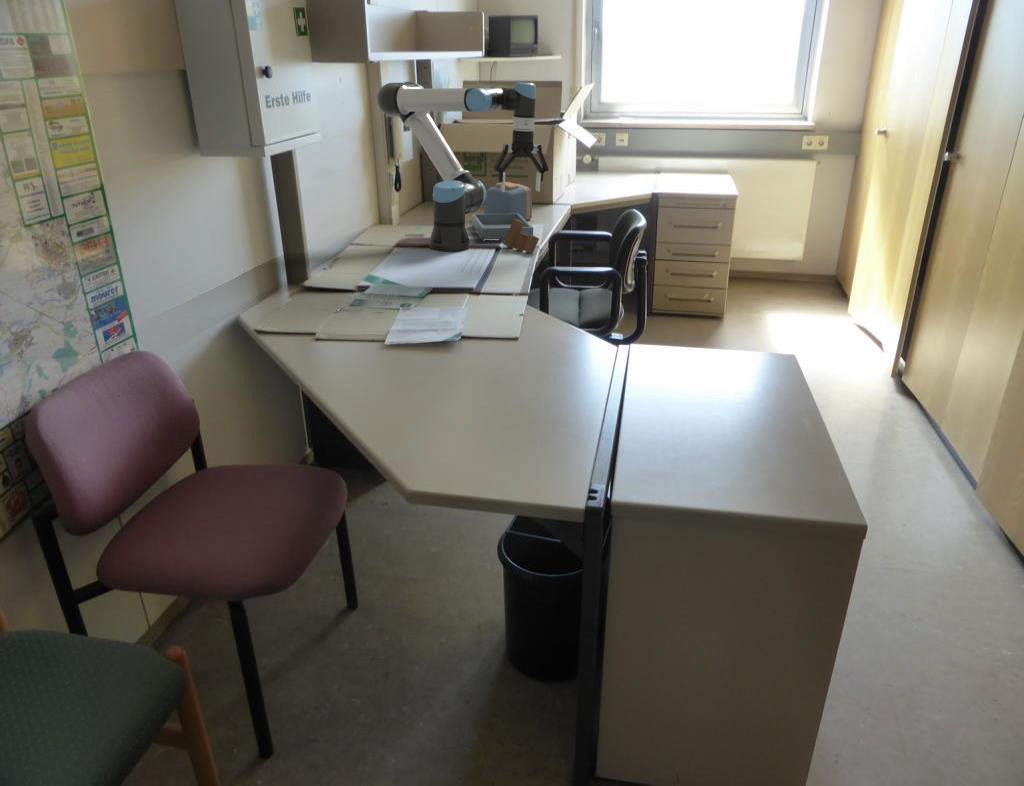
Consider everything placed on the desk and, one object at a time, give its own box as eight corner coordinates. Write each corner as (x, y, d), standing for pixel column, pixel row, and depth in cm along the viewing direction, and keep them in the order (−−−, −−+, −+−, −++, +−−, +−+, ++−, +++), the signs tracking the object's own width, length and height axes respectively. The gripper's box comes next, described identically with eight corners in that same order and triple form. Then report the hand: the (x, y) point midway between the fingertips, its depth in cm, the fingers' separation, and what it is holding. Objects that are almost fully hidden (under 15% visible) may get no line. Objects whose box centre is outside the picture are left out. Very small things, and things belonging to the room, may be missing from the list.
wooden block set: (534, 259, 270) (546, 233, 267) (515, 252, 265) (527, 226, 262) (514, 246, 284) (524, 222, 282) (495, 239, 280) (506, 214, 277)
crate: (482, 241, 284) (482, 228, 282) (472, 225, 309) (472, 214, 307) (532, 240, 288) (533, 227, 286) (518, 225, 313) (518, 213, 310)
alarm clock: (533, 220, 323) (535, 183, 317) (506, 224, 313) (507, 186, 307) (509, 214, 334) (510, 178, 328) (481, 218, 324) (482, 181, 317)
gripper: (492, 130, 252) (490, 193, 261) (559, 131, 259) (555, 192, 268) (486, 128, 258) (484, 189, 267) (552, 129, 266) (548, 188, 275)
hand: (520, 191), depth 268 cm, fingers open, 13 cm apart
